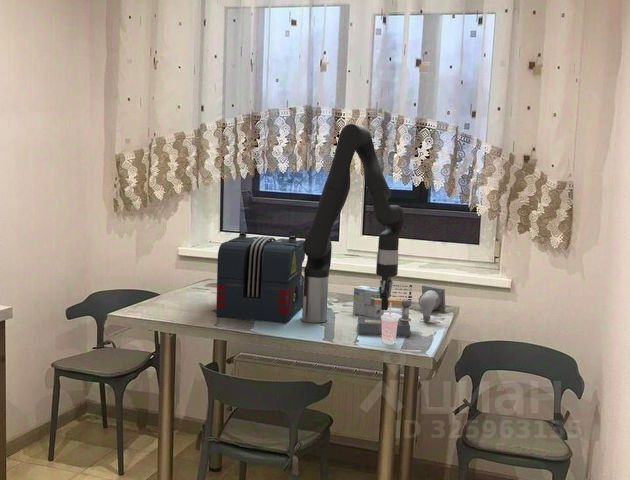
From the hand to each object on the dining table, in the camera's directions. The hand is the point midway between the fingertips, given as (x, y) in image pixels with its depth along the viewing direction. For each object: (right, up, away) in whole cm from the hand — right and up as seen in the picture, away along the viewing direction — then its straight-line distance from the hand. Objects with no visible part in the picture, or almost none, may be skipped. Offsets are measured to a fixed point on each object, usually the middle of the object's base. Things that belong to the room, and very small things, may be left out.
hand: (384, 309), depth 239 cm
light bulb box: (-4, -5, +29) cm, 29 cm away
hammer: (+3, +1, +5) cm, 6 cm away
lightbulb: (+18, -7, +20) cm, 28 cm away
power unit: (-46, -4, +26) cm, 53 cm away
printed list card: (+16, -4, +41) cm, 45 cm away
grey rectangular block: (0, -8, +4) cm, 9 cm away
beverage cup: (0, -10, -9) cm, 14 cm away
